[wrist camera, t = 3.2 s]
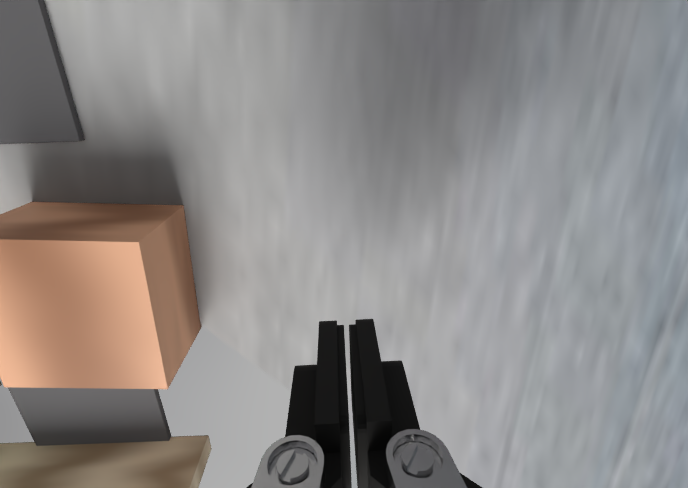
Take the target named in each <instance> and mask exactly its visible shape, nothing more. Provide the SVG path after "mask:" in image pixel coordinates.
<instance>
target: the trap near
mask: <svg viewBox="0 0 688 488" xmlns="http://www.w3.org/2000/svg"><path fill="white" fill-rule="evenodd" d="M82 140H85V139H84V136H83V133H82V129H81V126H80V122H79V119H78V116H77V112H76V109H75V105H74V102H73V98H72V95H71V92H70V88H69V85H68V81H67V78H66V75H65V71H64V68H63V64H62V61H61V57H60V54H59V51H58V47H57V44H56V40H55V37H54V34H53V30H52V27H51V23H50V20H49V16H48V13H47V10H46V6H45V3H44V1H43V0H0V144H16V143H43V142H70V141H82Z"/></svg>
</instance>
